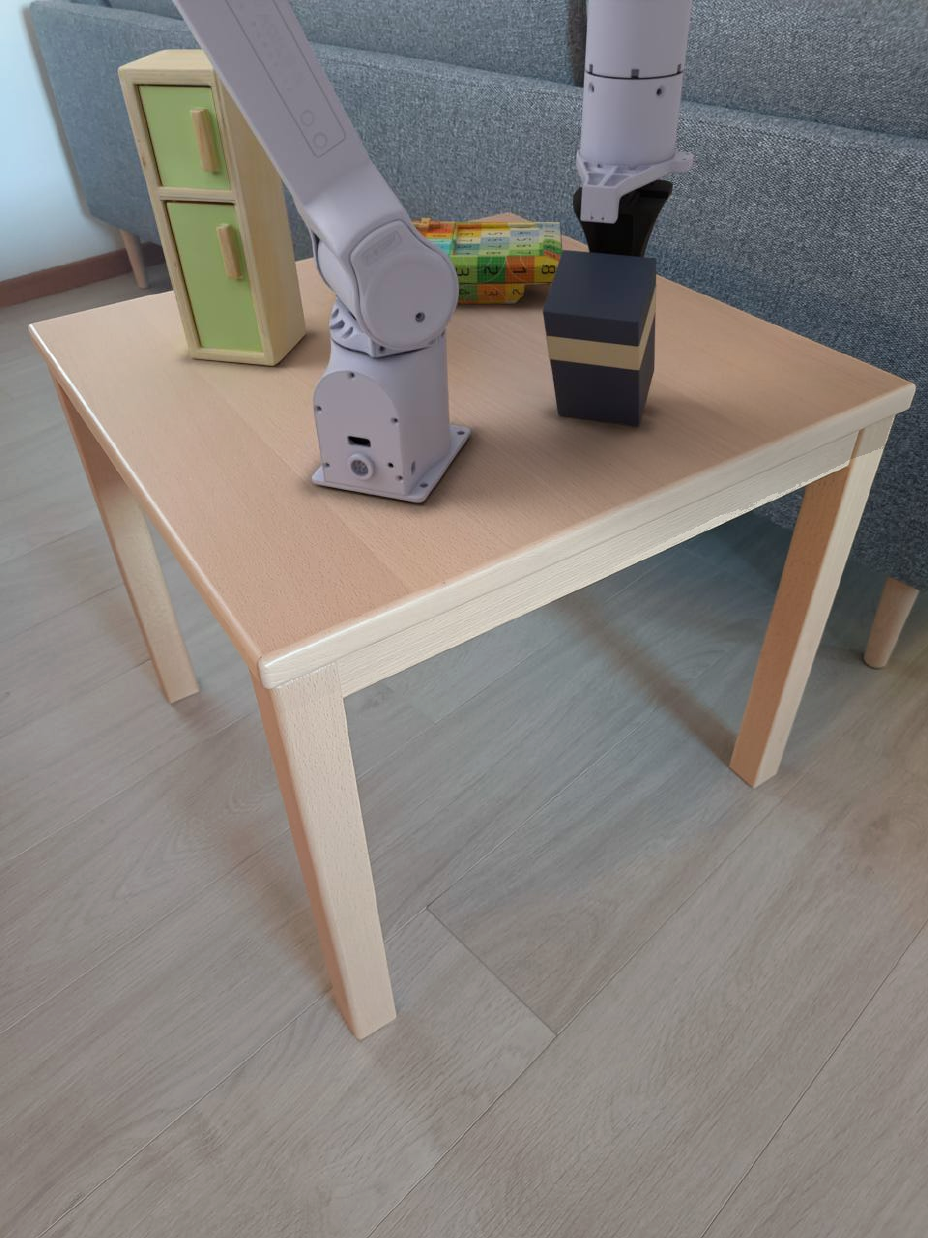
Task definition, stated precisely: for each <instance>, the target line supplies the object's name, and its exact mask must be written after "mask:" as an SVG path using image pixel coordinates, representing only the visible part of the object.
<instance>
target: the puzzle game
mask: <svg viewBox="0 0 928 1238" xmlns="http://www.w3.org/2000/svg"><path fill="white" fill-rule="evenodd" d="M411 221H412V223H413V225H414V226H415V228H416V229H417V230H418V232H419V233H420V234H421V235H422V236H423V237H425V238H426V239H428V240H430V241H431V242H433V243H434V244H435V245H437V246H438V247H440V248H441V249H442V250H443V251H444V252H445V253H446V254H447V255H448V257H449V258H450V259H451V261H452V263H453V265H454V267H455V270H456V273H457V276H458V283H459V296H458V302H457V305H458V304H461V305H464V304H465V305H466V304H475V305H476V304H477V305H478V304H486V305H487V304H516V303H517V302H518V301H520V299H521V298H522V297H523V296H524V294H525V293H524V292H525V286H526V285H527V286H528V285H552V282H553V278H554V275H555V272H556V269H557V266H558V263H559V260H560V257H561V254H562V251H563V239H562V238H563V237H562V224H561V222H560V221H440V220H432V217H421V218H420V220H411Z"/></svg>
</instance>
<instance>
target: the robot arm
mask: <svg viewBox="0 0 928 1238" xmlns="http://www.w3.org/2000/svg"><path fill="white" fill-rule="evenodd" d="M171 1H172V3H173V5H174V7H175V8H176V9H177V11H178V12H179V14H180V16H181V17H182V19H183V21H184V22H185V24H186V26H187V27H188V29H189V31H190V32H191V34H192V36H193V37H194V39H195V40H196V42H197V43H198V45H199V47H200V49H201V50H203V52H204V53H205V55H206V57H207V58H208V60H209V61H210V63H211V65H212V66H213V68H214V70H215V71H216V73H217V74H218V76H219V78H220V79H221V81H222V83H223V84H224V86H225V87H226V89H227V91H228V92H229V94H230V96H231V97H232V99H233V100H234V102H235V104H236V105H237V107H238V109H239V110H240V112H241V113H242V115H243V117H244V118H245V120H246V122H247V123H248V125H249V126H250V128H251V130H252V131H253V133H254V135H255V136H256V138H257V139H258V141H259V143H260V144H261V146H262V148H263V149H264V151H265V152H266V154H267V156H268V157H269V159H270V161H271V162H272V164H273V165H274V167H275V169H276V170H277V172H278V174H279V175H280V177H281V178H282V183H284V185H285V187H286V189H287V190H288V191H289V193H290V196H291V197H292V200H293V203H294V205H295V209H296V211H297V213H298V214H299V216H300V218H301V219H302V220H303V222H304V224H305V226H306V228H307V230H308V232H309V235H310V239H311V244H312V253H313V254H312V255H313V260H314V266H315V268H316V271H317V274H318V275H319V278H321V280H322V282H323V283H324V285H325V286H327V287H328V288H329V289H330V290H331V291H332V293H333V292H334V294H335V302H334V303H333V306H332V310H331V313H330V320H329V321H328V328H329V334H330V355H329V360H328V364H327V366H326V369H325V370H324V373H323V374H322V376H321V377H320V379H319V380H318V382H317V383H316V386H315V388H314V390H313V395H312V409H313V416H314V422H315V430H316V435H317V443H318V449H319V456H320V464H321V465H320V466H319V468H317V470H316V471H315V472H314V473H313V474H312V476H311V480H312V483H313V484H314V485H317V486H323V487H330V488H335V489H340V490H345V491H351V492H356V493H363V494H367V495H372V496H378V497H384V498H389V499H393V500H394V499H395V500H400V501H406V502H411V503H417V504H419V503H423V502H425V501H426V500H427V498H428V497H429V496H430V494H431V492H432V491H433V489H435V487H436V485H437V484H438V482H439V481H440V479H441V478H442V477H443V475H444V474H445V472H446V471H447V469H448V468H449V467H450V465H451V464H452V462H453V461H454V459H456V456H457V455H458V453H459V452H460V451H461V449H462V448H463V447H464V445H465V443H466V442H467V440H469V438H470V437H471V428H470V427H468V426H465V425H458V424H453V423H450V401H449V378H448V377H449V376H448V375H449V374H448V353H447V352H448V351H447V327H448V325H449V323H450V322H451V320H452V318H453V316H454V314H455V312H456V309H457V306H458V304H457V302H458V296H459V283H458V276H457V273H456V270H455V267H454V265H453V263H452V261H451V259H450V258H449V257H448V255H447V254H446V253H445V252H444V251H443V250H442V249H441V248H440V247H438V246H437V245H435V244H434V243H433V242H431V241H430V240H428V239H426V238H425V237H423V236H422V235H421V234H420V233H419V232H418V230H417V229H416V228H415V226H414V225H413V223H412V221H413V220H412V219H411V217H410V215H409V214H408V212H407V210H406V208H405V207H404V205H403V204H402V203H401V201H400V199H399V197H397V195H396V193H394V190H392V188H391V186H390V185H389V184H388V183H387V180H385V178H384V177H383V176H382V174H381V172H380V171H379V170H378V168H377V167H376V165H375V163H374V162H373V161H372V159H371V157H370V155H369V153H368V151H367V150H366V148H365V146H364V144H363V142H362V140H361V138H360V137H359V134H358V132H357V131H356V129H355V127H354V124H353V123H352V120H351V119H350V117H349V116H348V114H347V111H346V109H345V108H344V106H343V104H342V102H341V101H340V98H339V96H338V95H337V93H336V90H335V89H334V86H333V85H332V83H331V81H330V80H329V77H328V75H327V74H326V72H325V70H324V68H323V67H322V64H321V63H320V60H319V58H318V56H317V55H316V52H315V51H314V49H313V47H312V46H311V44H310V41H309V40H308V38H307V36H306V34H305V31H304V30H303V28H302V26H301V24H300V23H299V21H298V19H297V16H296V15H295V13H294V11H293V10H292V7H291V6H290V3H289V2H288V0H171ZM587 4H588V5H587V21H586V22H587V23H586V38H585V55H584V58H585V59H584V74H583V76H584V77H583V92H582V110H581V125H580V126H581V127H580V128H581V129H580V147H579V149H578V150H577V152H576V161H575V167H576V169H577V172H578V175H579V177H580V180H581V182H582V186H579V187H578V188H577V189H576V191H575V192H574V193H573V195H572V208H573V213H574V214H575V216H576V218H577V220H578V222H579V224H580V227H581V229H582V231H583V235H584V239H585V241H586V245H587V249H588V252H592V253H603V254H613V255H624V256H635V257H645V255H646V254H645V253H646V250H647V246H648V243H649V240H650V238H651V235H652V232H653V230H654V228H655V224H656V222H657V221H658V218H659V215H660V214H661V211H662V210H663V208H664V206H665V205H666V203H667V201H668V200H669V198H670V196H671V195H672V193H673V189H674V188H673V187H674V184H673V183H672V182H671V181H668V180H665V179H662V178H664V177H665V176H668V175H669V174H671V173H678V174H685V173H688V172H690V171H691V169H692V168H693V165H694V158H695V154H694V153H693V152H689V151H688V152H687V151H678V150H676V142H677V132H678V124H679V117H680V116H679V115H680V107H681V99H682V90H683V81H684V73H685V66H686V57H687V50H688V40H689V33H690V24H691V16H692V15H691V14H692V8H693V0H588V1H587Z"/></svg>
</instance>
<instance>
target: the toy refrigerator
mask: <svg viewBox="0 0 928 1238" xmlns="http://www.w3.org/2000/svg"><path fill="white" fill-rule="evenodd" d="M117 75H118V80H119V84H120V87H121V92H122V96H123V100H124V103H125V107H126V111H127V115H128V118H129V123H130V127H131V131H132V134H133V138H134V143H135V146H136V150H137V153H138V157H139V160H140V165H141V168H142V172H143V176H144V180H145V184H146V188H147V192H148V196H149V199H150V203H151V208H152V211H153V216H154V219H155V223H156V227H157V231H158V235H159V240H160V242H161V246H162V250H163V254H164V258H165V263H166V266H167V270H168V274H169V278H170V281H171V286H172V289H173V294H174V298H175V301H176V306H177V309H178V313H179V317H180V320H181V325H182V329H183V333H184V337H185V340H186V345H187V348H188V352H189V355H190V357H191V358H192V359H195V360H196V359H198V360H204V361H205V360H206V361H207V360H208V361H217V362H227V363H229V362H230V363H240V364H251V365H261V366H271V367H274V366H276V365H278V363H280V362H281V361H282V360H283V359H284V358H285V357H286V356H287V355H288V353H290V352H291V351H292V350H293V348H294V347H295V346H296V345H298V343H299V342H300V341H301V340H302V339H303V337H304V336H305V335H306V334H307V326H306V320H305V314H304V308H303V307H304V306H303V302H302V301H303V300H302V295H301V290H300V284H299V278H298V277H299V276H298V270H297V265H296V258H295V252H294V246H293V240H292V234H291V228H290V222H289V215H288V209H287V202H286V197H285V191H284V190H285V189H284V184H283V180H282V178H281V177H280V175H279V174H278V172H277V170H276V169H275V167H274V165H273V164H272V162H271V161H270V159H269V157H268V156H267V154H266V152H265V151H264V149H263V148H262V146H261V144H260V143H259V141H258V139H257V138H256V136H255V135H254V133H253V131H252V130H251V128H250V126H249V125H248V123H247V122H246V120H245V118H244V117H243V115H242V113H241V112H240V110H239V109H238V107H237V105H236V104H235V102H234V100H233V99H232V97H231V96H230V94H229V92H228V91H227V89H226V87H225V86H224V84H223V83H222V81H221V79H220V78H219V76H218V74H217V73H216V71H215V70H214V68H213V66H212V65H211V63H210V61H209V60H208V58H207V57H206V55H205V53H204V52H203V50H202V49H184V48H183V49H182V48H180V49H179V48H178V49H176V48H174V49H163V50H159V51H155V52H154V53H150V54H149V55H146V56H144V57H141V58H138V59H135V60H133V61H129V62H127V63H125V64H123V65H121V66H118V68H117Z"/></svg>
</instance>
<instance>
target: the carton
mask: <svg viewBox="0 0 928 1238" xmlns="http://www.w3.org/2000/svg"><path fill="white" fill-rule="evenodd" d="M657 263H658V261H657V258H655V257H645V256H644V257H635V256H624V255H613V254H603V253H592V252H589V251H582V250H580V251H579V250H570V249H562V254H561V257H560V260H559V263H558V266H557V269H556V272H555V275H554V278H553V282H552V284H550V288H549V291H548V294H547V297H546V300H545V303H544V307H543V309H542V316H543V323H544V329H545V339H546V345H547V353H548V358H549V363H550V371H551V377H552V382H553V389H554V397H555V405H556V410H557V415H558V416H563V417H572V418H578V419H584V420H592V421H597V422H605V423H612V424H618V425H624V426H625V425H626V426H633V427H640V425H641V421H642V419H643V414H644V411H645V407H646V403H647V399H648V396H649V393H650V392H649V391H650V388H651V385H652V381H653V378H654V374H655V359H656V355H655V354H656V312H657Z"/></svg>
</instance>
